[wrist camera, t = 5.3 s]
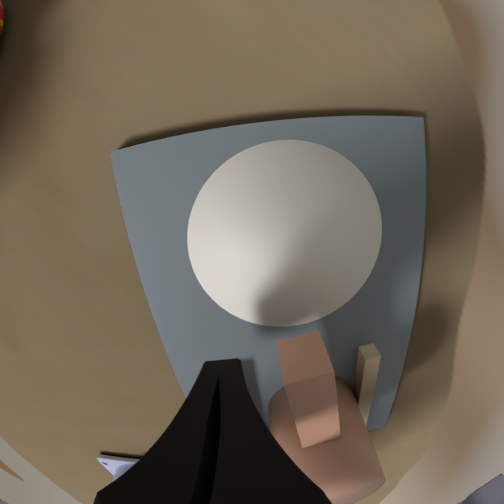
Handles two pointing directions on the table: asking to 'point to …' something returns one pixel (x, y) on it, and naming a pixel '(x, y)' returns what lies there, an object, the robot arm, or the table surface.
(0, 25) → the soda can
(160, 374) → the table surface
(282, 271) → the board
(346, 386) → the pink rounded handled piece
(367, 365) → the cradle
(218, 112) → the table surface
